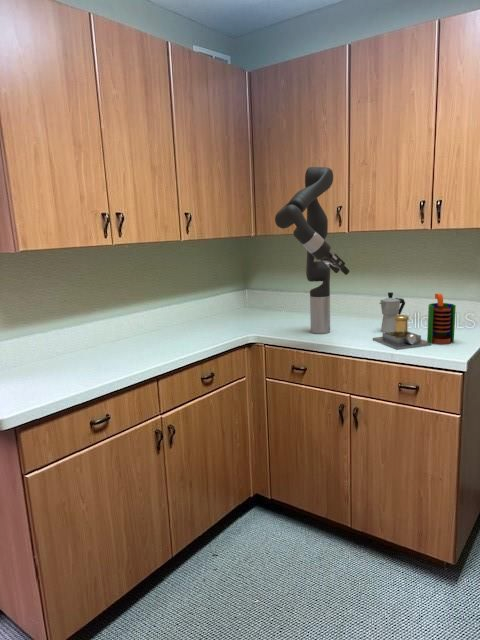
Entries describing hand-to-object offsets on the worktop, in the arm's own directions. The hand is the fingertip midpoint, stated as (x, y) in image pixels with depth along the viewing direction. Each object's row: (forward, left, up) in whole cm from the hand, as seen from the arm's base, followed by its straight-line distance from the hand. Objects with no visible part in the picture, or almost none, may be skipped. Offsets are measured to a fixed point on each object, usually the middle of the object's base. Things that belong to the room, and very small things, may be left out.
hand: (342, 272), depth 197 cm
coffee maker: (-15, +33, -31) cm, 47 cm away
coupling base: (+6, +24, -31) cm, 39 cm away
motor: (+12, +38, -31) cm, 50 cm away
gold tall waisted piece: (+6, +23, -30) cm, 38 cm away
